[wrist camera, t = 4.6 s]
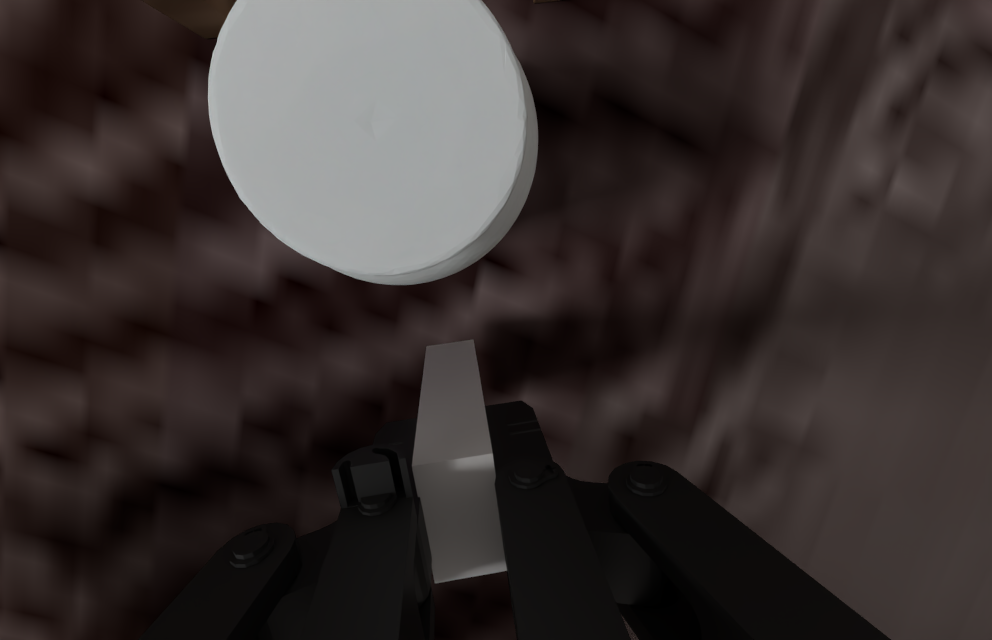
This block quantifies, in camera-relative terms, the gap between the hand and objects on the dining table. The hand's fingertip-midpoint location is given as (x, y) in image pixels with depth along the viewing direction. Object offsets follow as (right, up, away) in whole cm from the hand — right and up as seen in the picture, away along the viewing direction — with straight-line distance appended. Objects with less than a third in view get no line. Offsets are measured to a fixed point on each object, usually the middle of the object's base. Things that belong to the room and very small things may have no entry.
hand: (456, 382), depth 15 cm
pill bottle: (-1, +7, 0) cm, 7 cm away
